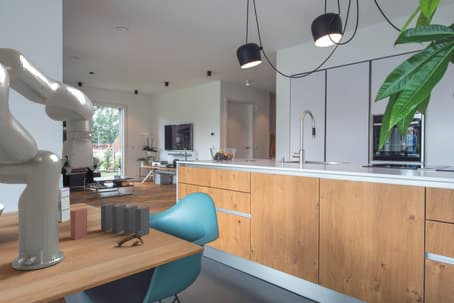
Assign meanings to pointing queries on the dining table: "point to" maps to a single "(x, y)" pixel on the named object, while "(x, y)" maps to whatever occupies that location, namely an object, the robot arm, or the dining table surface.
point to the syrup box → (63, 204)
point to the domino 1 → (78, 223)
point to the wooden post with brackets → (130, 239)
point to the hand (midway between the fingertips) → (79, 184)
